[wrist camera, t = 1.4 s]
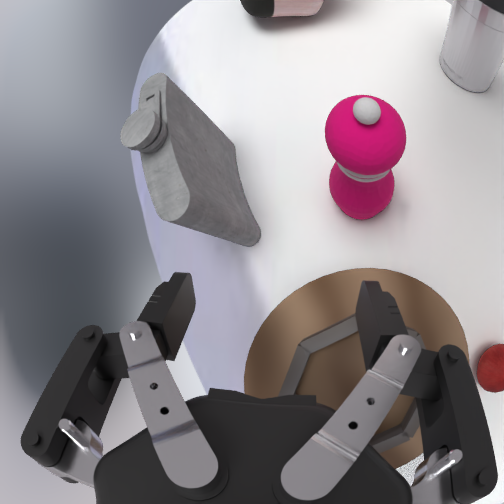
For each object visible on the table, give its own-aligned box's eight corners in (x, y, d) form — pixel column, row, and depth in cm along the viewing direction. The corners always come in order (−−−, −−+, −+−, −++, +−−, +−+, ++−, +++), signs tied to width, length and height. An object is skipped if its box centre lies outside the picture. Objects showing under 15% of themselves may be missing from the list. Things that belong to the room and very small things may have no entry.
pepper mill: (396, 179, 32) (432, 81, 13) (378, 233, 33) (410, 176, 14) (343, 159, 35) (327, 51, 16) (323, 210, 35) (290, 134, 16)
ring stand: (389, 245, 32) (419, 219, 17) (445, 373, 28) (494, 425, 13) (259, 314, 36) (199, 335, 22) (318, 432, 32) (294, 508, 18)
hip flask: (264, 241, 37) (174, 203, 18) (234, 252, 38) (128, 226, 19) (232, 137, 40) (151, 53, 21) (207, 149, 41) (117, 76, 22)
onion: (508, 344, 25) (538, 356, 17) (492, 385, 25) (517, 405, 17) (478, 334, 27) (506, 347, 19) (461, 377, 27) (484, 399, 19)
